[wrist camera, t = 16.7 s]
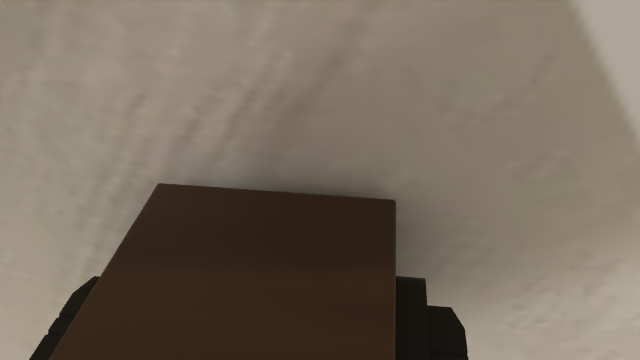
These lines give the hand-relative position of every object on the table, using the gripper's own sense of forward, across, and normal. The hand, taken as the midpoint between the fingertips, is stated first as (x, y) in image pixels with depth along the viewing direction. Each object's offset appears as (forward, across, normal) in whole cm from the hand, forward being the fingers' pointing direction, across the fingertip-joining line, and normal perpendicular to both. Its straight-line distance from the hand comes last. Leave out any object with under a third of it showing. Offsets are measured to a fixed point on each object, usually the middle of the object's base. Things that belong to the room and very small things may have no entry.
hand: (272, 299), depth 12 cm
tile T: (+1, 0, 0) cm, 1 cm away
